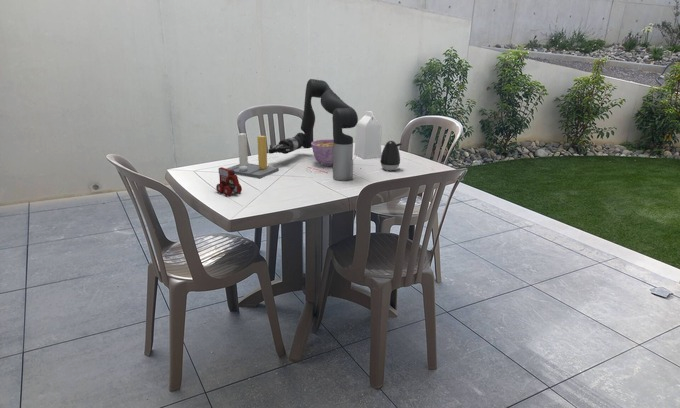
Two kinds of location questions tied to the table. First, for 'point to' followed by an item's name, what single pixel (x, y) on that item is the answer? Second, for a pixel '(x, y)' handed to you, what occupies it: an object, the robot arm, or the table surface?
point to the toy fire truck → (228, 182)
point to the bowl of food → (323, 151)
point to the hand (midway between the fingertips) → (269, 151)
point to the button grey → (243, 168)
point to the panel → (254, 170)
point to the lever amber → (262, 152)
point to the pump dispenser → (390, 156)
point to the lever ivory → (242, 149)
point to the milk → (368, 137)
